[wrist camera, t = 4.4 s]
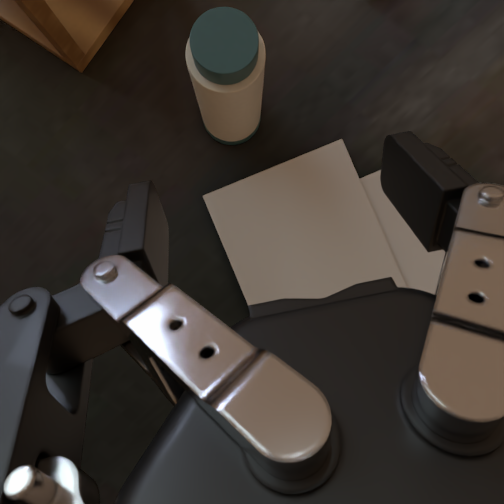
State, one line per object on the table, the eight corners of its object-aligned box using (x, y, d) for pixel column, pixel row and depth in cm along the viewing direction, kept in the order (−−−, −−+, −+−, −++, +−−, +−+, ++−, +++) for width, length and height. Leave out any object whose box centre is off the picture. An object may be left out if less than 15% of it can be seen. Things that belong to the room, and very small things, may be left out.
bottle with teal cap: (239, 156, 36) (236, 99, 24) (191, 124, 36) (163, 51, 24) (271, 109, 36) (284, 28, 24) (223, 77, 36) (212, -19, 24)
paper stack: (431, 103, 36) (434, 100, 36) (541, 348, 35) (547, 350, 35) (203, 197, 35) (202, 195, 35) (309, 450, 34) (310, 454, 34)
